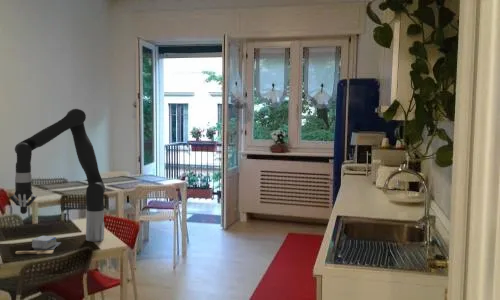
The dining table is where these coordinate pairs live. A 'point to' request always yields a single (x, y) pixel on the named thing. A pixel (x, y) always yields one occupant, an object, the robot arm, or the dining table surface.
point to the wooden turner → (35, 252)
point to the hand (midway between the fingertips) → (23, 213)
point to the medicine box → (43, 242)
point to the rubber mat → (50, 247)
